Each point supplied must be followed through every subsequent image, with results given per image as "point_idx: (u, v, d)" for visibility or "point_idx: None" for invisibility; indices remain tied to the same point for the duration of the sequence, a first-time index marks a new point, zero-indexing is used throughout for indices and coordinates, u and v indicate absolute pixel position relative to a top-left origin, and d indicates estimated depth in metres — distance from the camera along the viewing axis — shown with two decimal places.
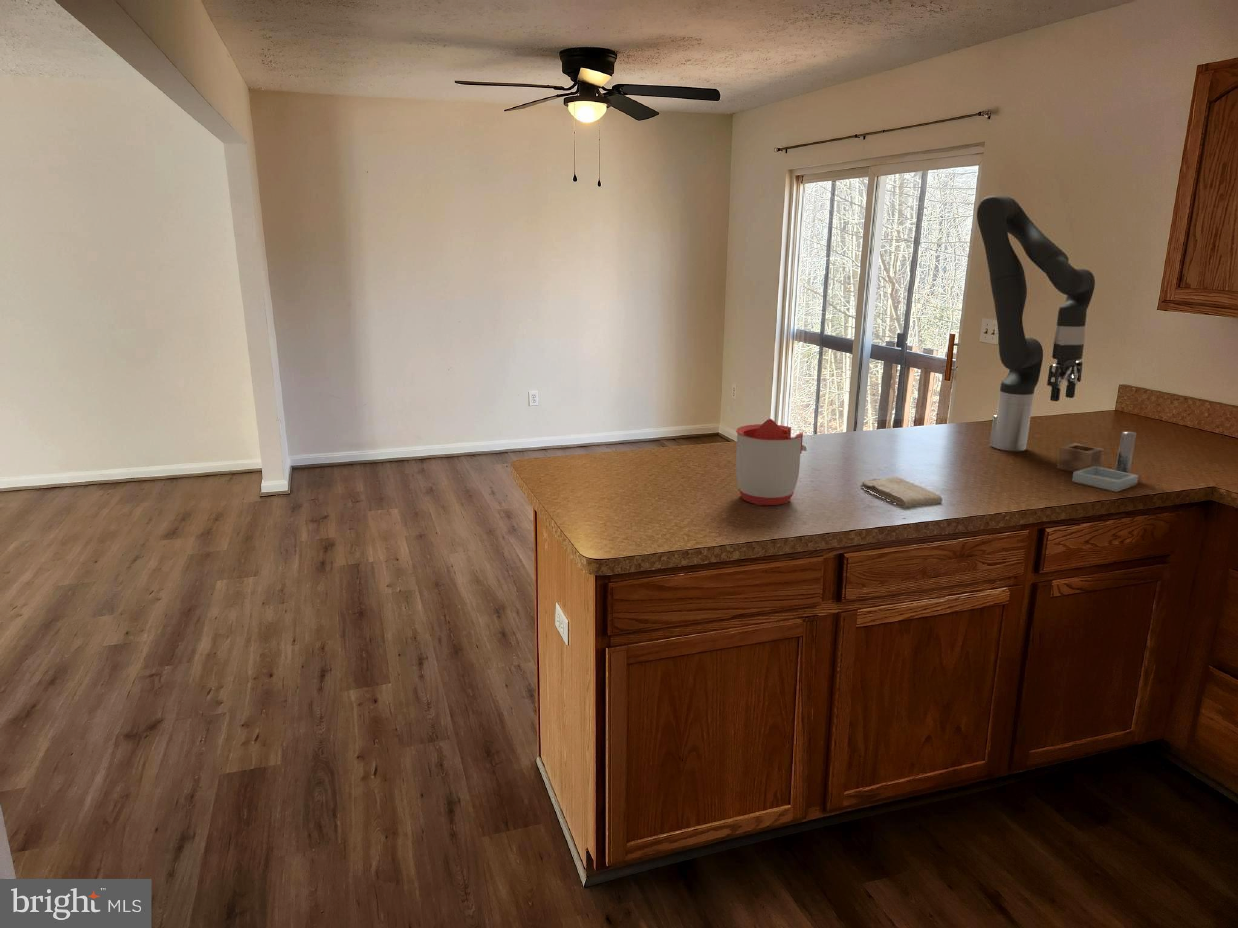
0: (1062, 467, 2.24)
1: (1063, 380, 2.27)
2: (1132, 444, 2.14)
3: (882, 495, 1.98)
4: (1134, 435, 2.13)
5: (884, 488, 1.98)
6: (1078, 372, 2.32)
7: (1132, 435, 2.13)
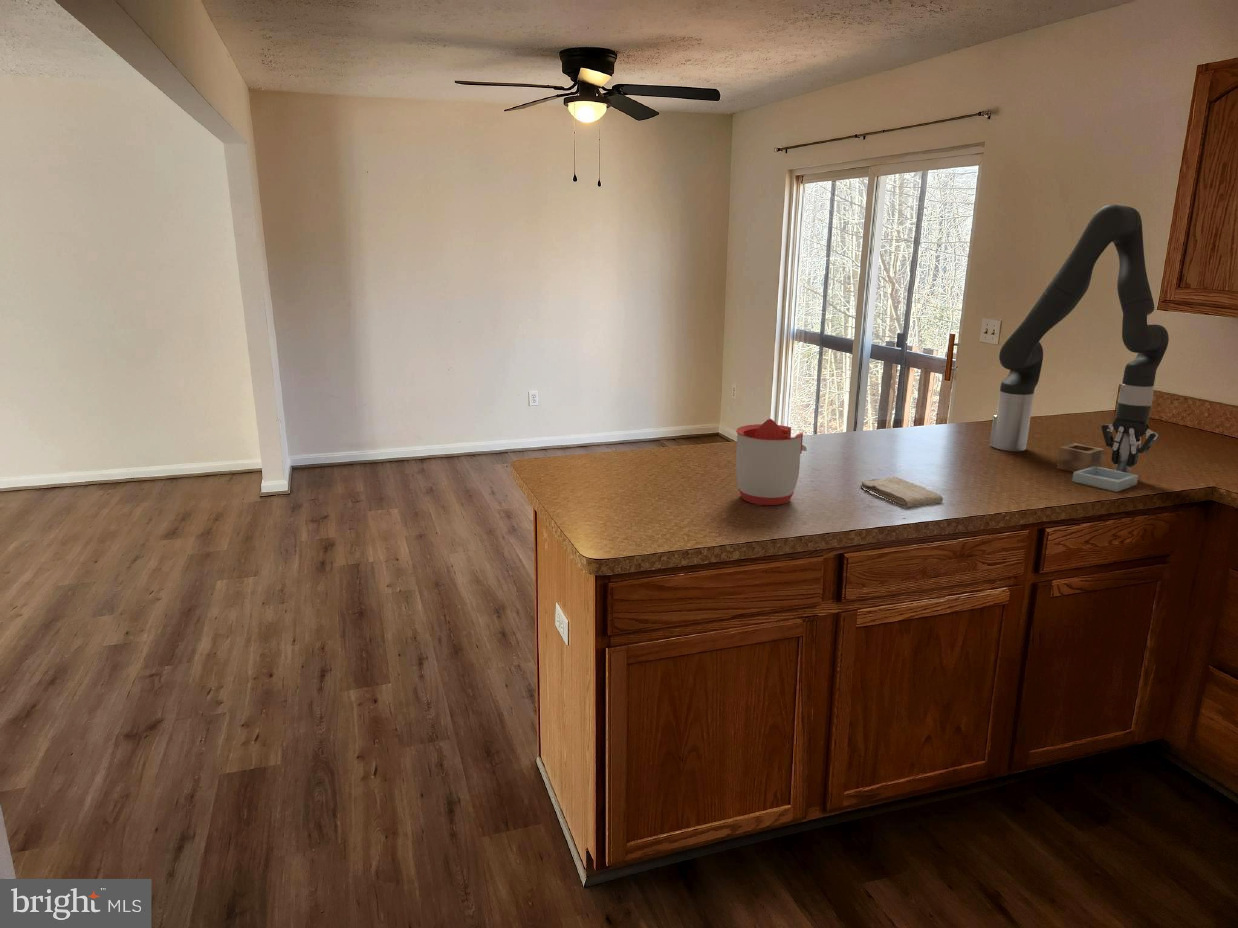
0: (1062, 467, 2.24)
1: None
2: None
3: (883, 495, 1.98)
4: None
5: (885, 488, 1.98)
6: (1112, 434, 2.19)
7: None
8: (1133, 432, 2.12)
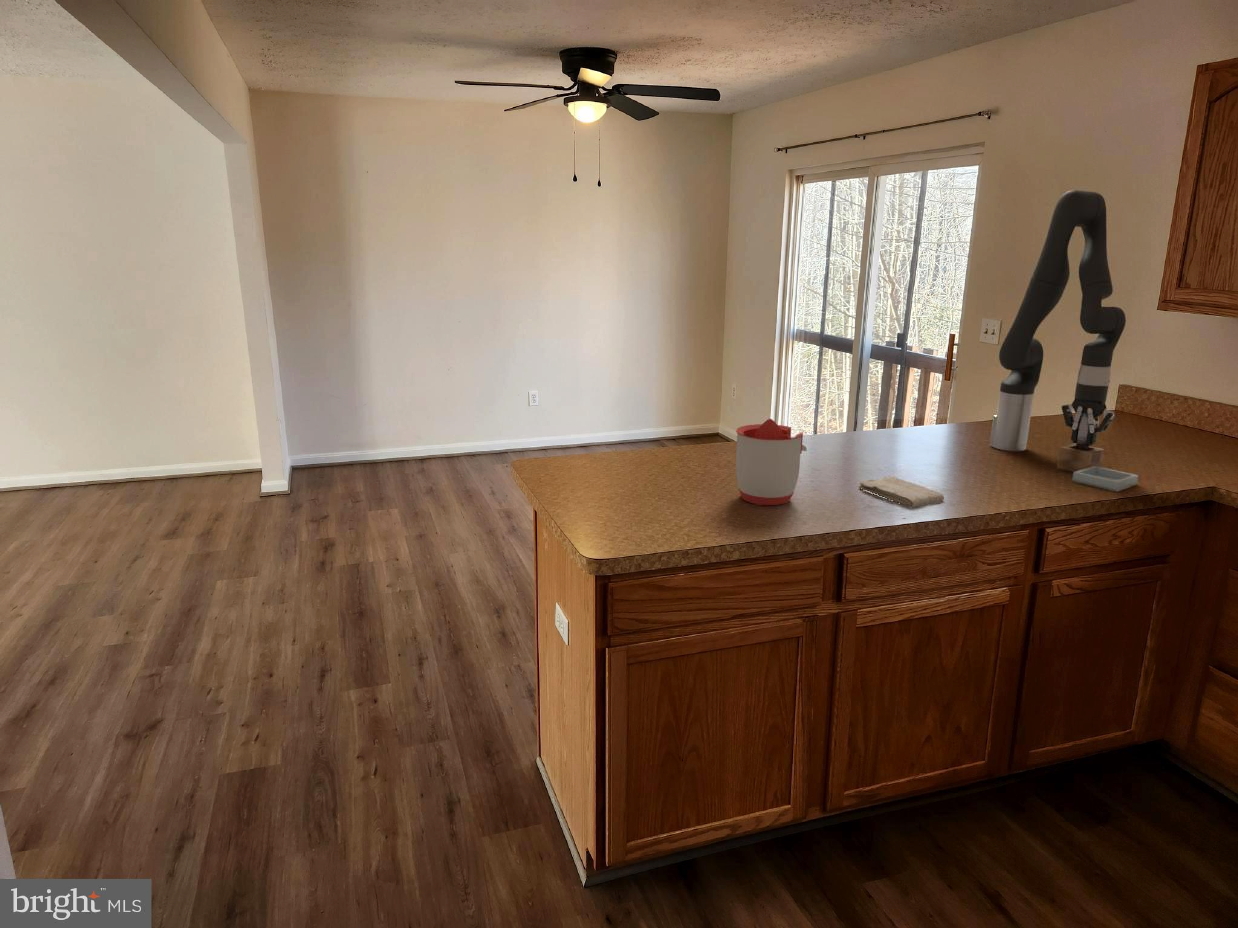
0: (1062, 467, 2.24)
1: None
2: None
3: (885, 496, 1.97)
4: None
5: (886, 489, 1.98)
6: (1071, 414, 2.24)
7: None
8: (1091, 412, 2.17)
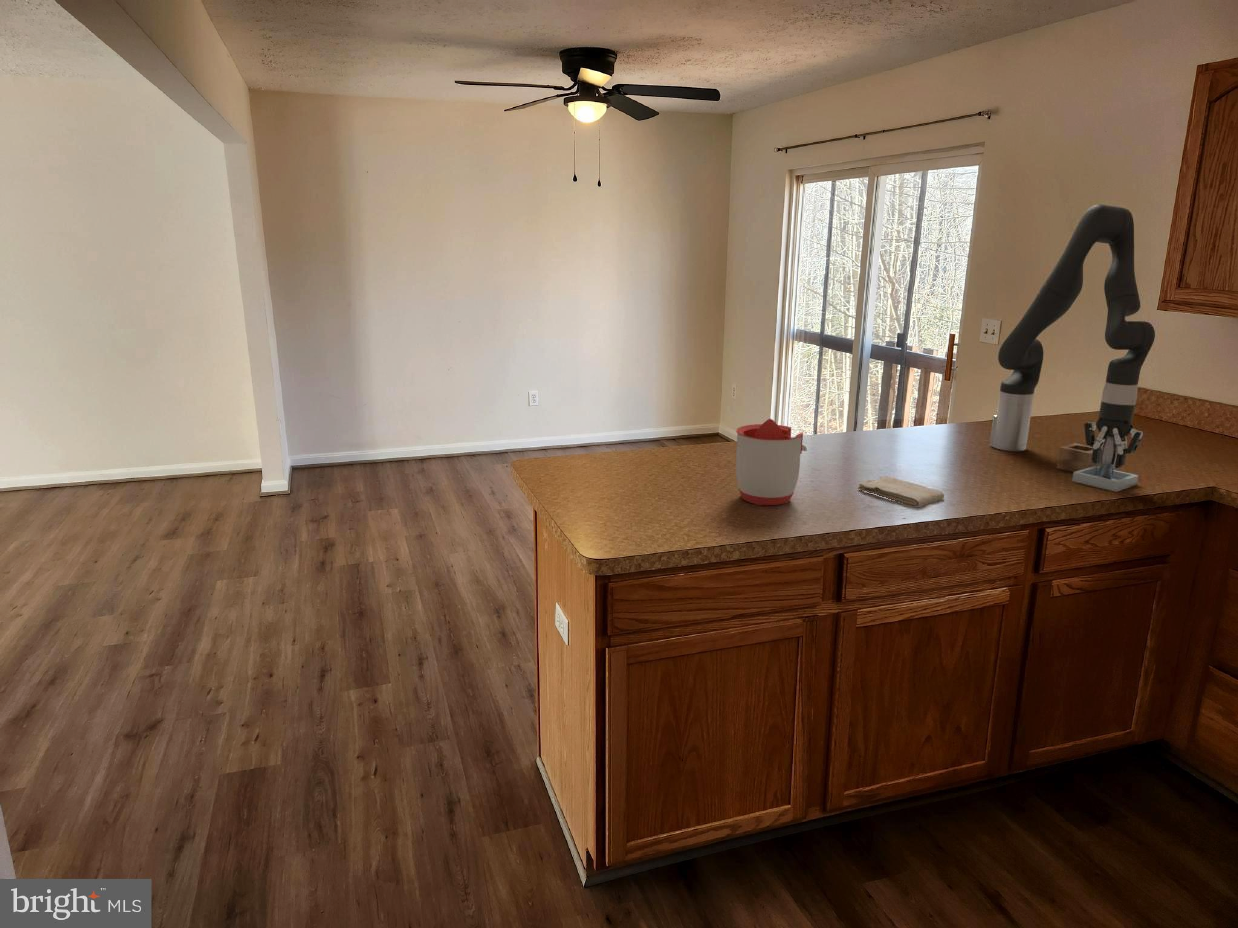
0: (1062, 467, 2.24)
1: None
2: (1115, 448, 2.07)
3: (887, 496, 1.97)
4: None
5: (888, 489, 1.97)
6: (1093, 433, 2.12)
7: None
8: (1117, 432, 2.05)
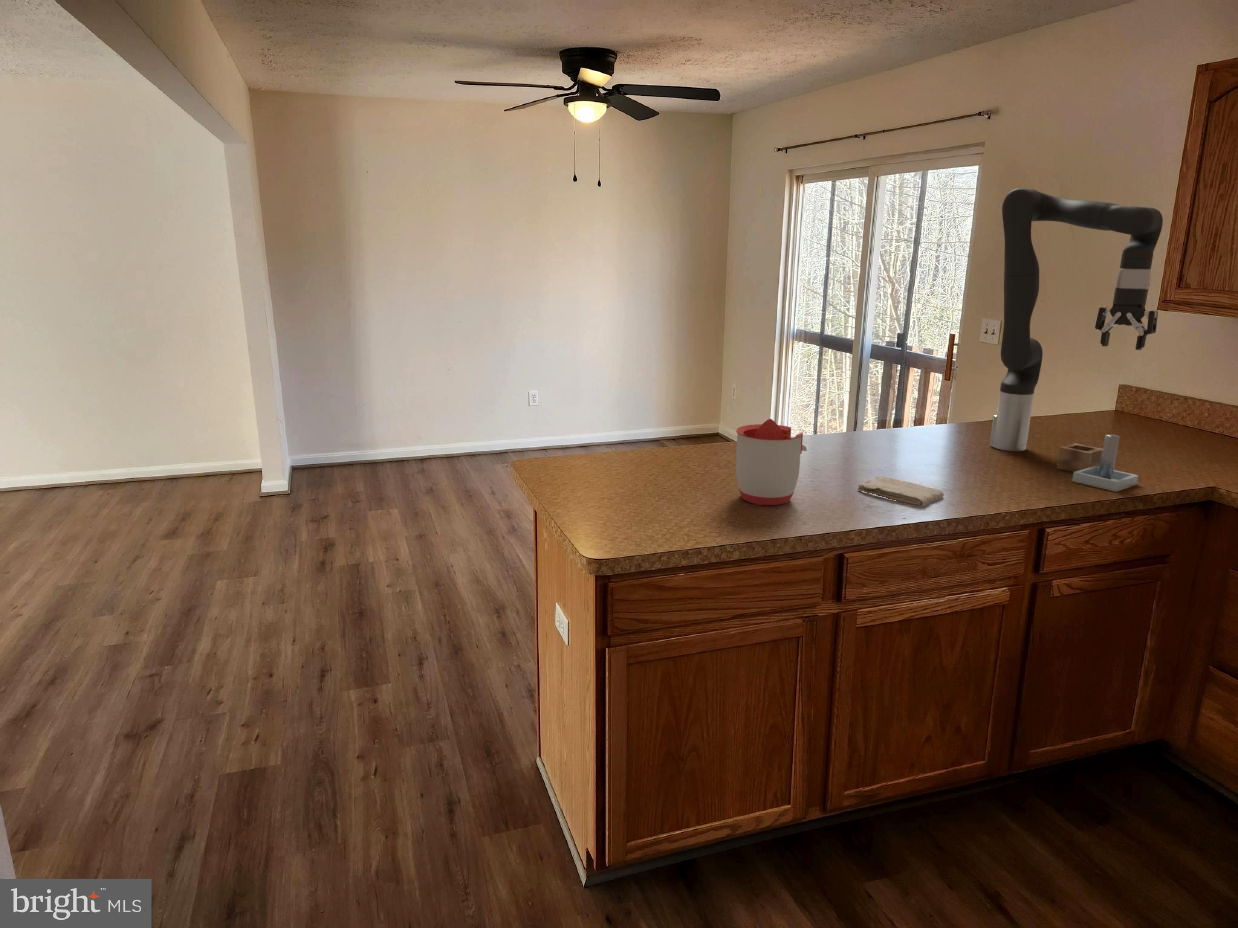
0: (1062, 467, 2.24)
1: None
2: (1115, 447, 2.07)
3: (889, 497, 1.97)
4: (1117, 438, 2.07)
5: (890, 489, 1.97)
6: (1105, 318, 2.21)
7: (1115, 438, 2.07)
8: (1131, 315, 2.13)
